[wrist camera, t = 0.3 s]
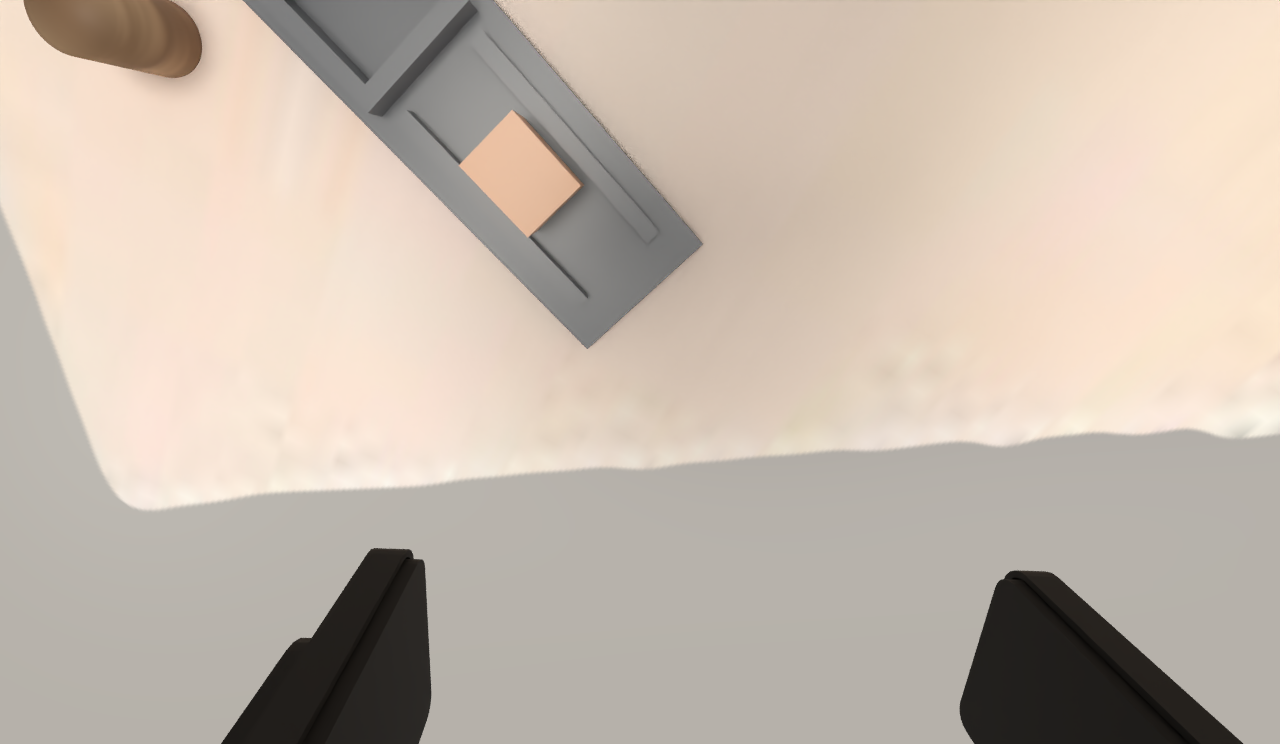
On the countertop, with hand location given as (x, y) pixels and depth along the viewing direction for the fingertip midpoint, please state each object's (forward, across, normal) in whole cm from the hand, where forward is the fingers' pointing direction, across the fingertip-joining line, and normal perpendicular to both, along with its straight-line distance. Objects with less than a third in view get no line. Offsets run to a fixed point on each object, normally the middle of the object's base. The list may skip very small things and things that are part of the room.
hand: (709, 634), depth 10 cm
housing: (+31, +10, -10) cm, 33 cm away
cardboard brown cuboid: (+29, +7, -7) cm, 31 cm away
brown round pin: (+31, +28, -13) cm, 43 cm away
